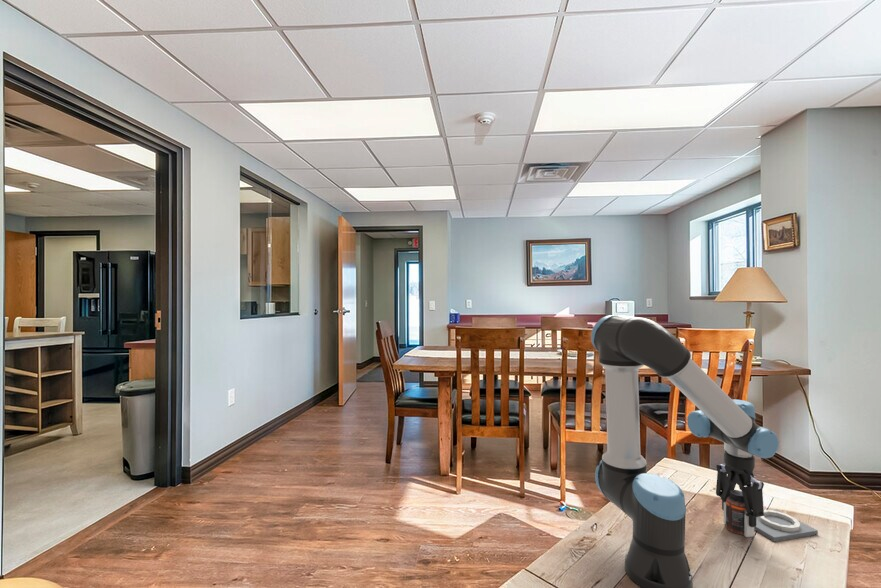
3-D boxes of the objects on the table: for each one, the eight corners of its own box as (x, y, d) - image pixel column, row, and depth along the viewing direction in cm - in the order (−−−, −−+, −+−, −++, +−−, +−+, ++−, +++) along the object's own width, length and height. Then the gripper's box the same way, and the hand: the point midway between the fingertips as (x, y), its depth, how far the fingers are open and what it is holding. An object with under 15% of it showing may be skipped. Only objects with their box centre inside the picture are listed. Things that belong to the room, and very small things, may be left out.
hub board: (774, 541, 121) (774, 533, 121) (736, 519, 133) (736, 511, 133) (817, 534, 125) (817, 526, 125) (777, 513, 136) (777, 505, 136)
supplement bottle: (754, 537, 123) (754, 498, 123) (731, 534, 125) (732, 496, 124) (743, 525, 129) (744, 489, 129) (722, 523, 130) (722, 487, 130)
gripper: (781, 464, 118) (780, 546, 118) (721, 440, 137) (720, 511, 137) (759, 467, 116) (759, 550, 117) (702, 442, 135) (701, 514, 135)
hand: (738, 529), depth 127 cm, fingers open, 6 cm apart
